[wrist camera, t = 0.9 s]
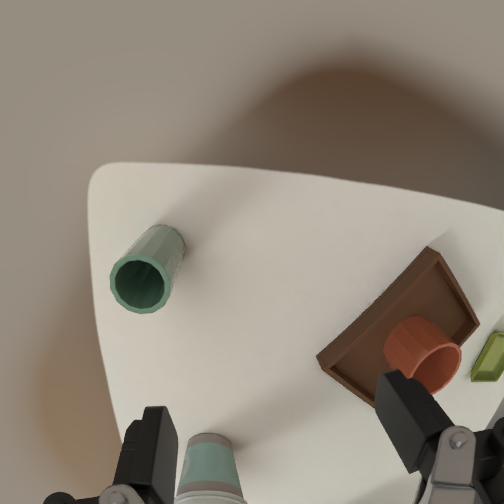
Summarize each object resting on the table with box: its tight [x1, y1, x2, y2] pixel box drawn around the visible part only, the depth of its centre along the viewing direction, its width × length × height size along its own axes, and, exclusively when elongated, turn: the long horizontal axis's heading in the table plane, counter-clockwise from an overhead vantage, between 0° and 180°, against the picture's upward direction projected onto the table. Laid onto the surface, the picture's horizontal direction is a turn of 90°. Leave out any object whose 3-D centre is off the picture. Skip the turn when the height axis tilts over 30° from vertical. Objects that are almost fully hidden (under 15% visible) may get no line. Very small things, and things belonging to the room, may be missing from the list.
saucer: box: [471, 332, 504, 382], centre depth 37 cm, size 9×9×2 cm
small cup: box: [110, 225, 185, 314], centre depth 24 cm, size 4×4×9 cm
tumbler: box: [383, 315, 461, 395], centre depth 31 cm, size 7×7×7 cm
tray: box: [316, 246, 480, 408], centre depth 33 cm, size 17×14×3 cm
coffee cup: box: [174, 433, 247, 504], centre depth 31 cm, size 8×9×12 cm
